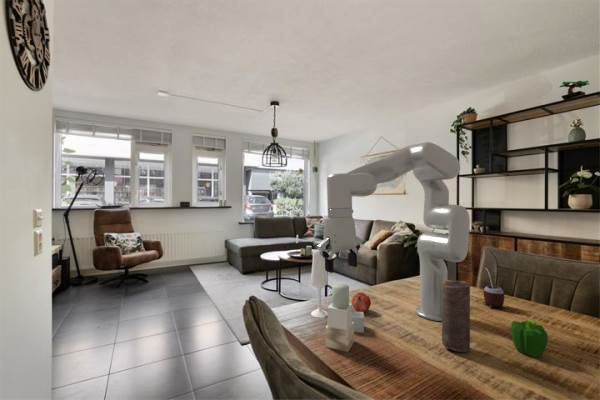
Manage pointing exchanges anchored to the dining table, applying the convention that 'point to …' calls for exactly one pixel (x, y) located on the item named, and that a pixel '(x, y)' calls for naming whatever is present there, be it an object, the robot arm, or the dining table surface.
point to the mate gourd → (493, 295)
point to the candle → (456, 315)
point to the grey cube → (358, 321)
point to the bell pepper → (529, 337)
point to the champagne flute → (319, 280)
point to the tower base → (339, 338)
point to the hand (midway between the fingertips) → (341, 268)
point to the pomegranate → (361, 302)
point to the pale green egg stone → (340, 296)
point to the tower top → (339, 317)
